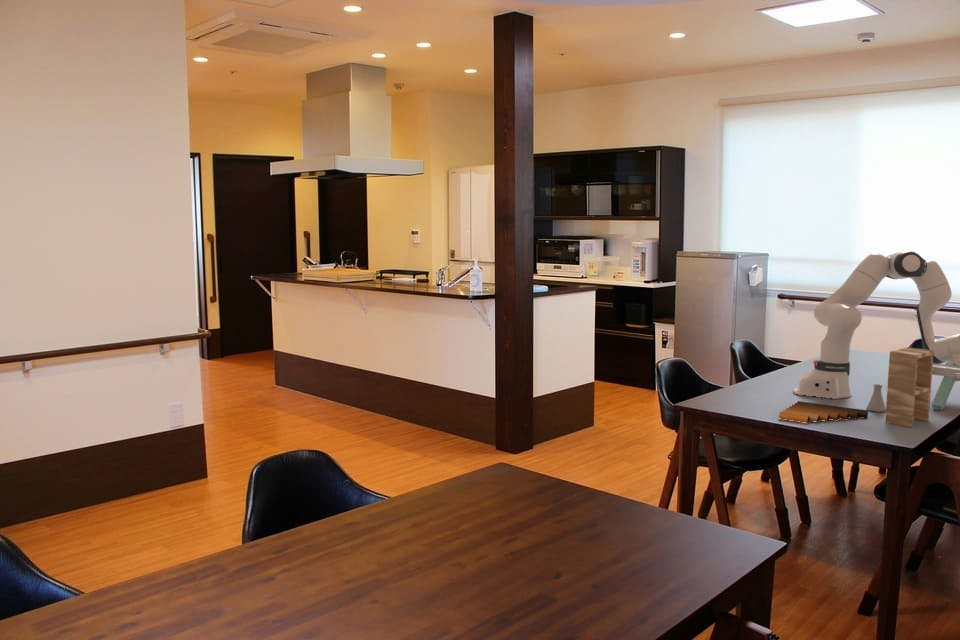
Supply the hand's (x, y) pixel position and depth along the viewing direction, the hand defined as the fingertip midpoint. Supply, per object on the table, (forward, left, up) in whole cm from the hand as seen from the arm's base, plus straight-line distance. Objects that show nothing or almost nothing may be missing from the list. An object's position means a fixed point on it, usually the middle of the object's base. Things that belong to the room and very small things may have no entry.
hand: (943, 374), depth 306 cm
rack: (-15, -26, -14) cm, 33 cm away
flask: (-24, -11, -14) cm, 30 cm away
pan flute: (-44, -32, -15) cm, 56 cm away
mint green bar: (+2, +3, -7) cm, 8 cm away
